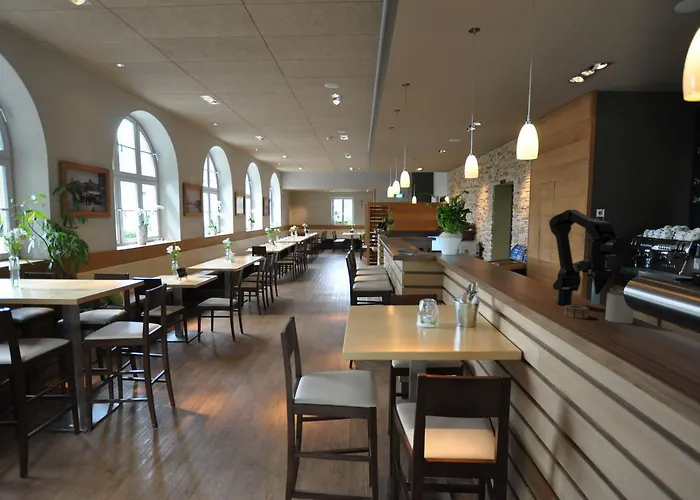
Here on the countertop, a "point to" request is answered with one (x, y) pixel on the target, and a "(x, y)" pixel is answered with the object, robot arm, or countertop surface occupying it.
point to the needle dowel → (594, 295)
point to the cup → (618, 308)
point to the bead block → (576, 311)
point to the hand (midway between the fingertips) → (595, 293)
